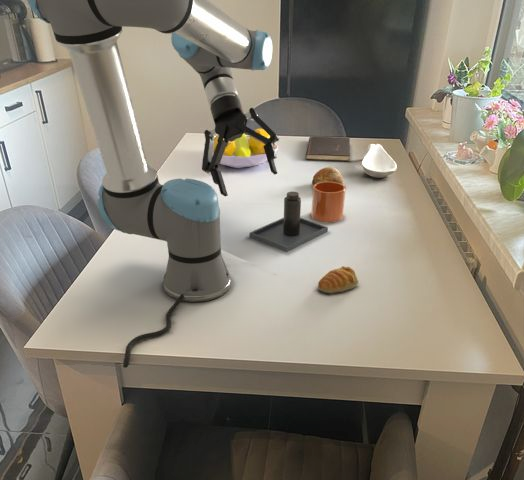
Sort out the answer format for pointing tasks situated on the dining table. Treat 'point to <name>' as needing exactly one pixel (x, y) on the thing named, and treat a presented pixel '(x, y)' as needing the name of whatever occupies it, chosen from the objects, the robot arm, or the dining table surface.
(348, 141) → the hardcover book
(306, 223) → the tray
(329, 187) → the pot
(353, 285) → the pastry
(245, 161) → the fruit bowl
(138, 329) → the dining table surface
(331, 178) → the bread roll
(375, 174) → the spoon rest
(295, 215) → the pepper mill
